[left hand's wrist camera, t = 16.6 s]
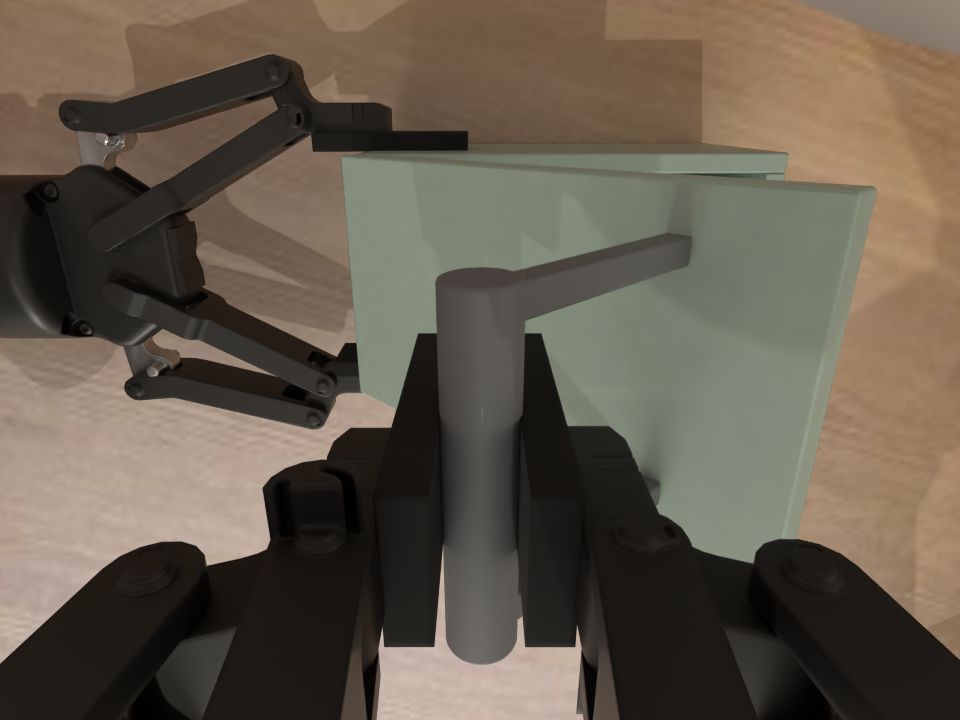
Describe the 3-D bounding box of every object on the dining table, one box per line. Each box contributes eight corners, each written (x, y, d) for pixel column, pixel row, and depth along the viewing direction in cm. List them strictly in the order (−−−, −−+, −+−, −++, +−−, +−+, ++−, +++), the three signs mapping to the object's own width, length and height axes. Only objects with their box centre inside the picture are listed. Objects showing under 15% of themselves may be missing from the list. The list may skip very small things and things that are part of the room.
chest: (702, 143, 33) (790, 152, 23) (681, 314, 36) (749, 381, 27) (390, 144, 33) (356, 153, 23) (400, 315, 36) (373, 382, 27)
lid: (879, 185, 12) (665, 245, 6) (788, 577, 15) (600, 828, 10) (365, 153, 23) (130, 165, 18) (381, 384, 27) (189, 452, 21)
